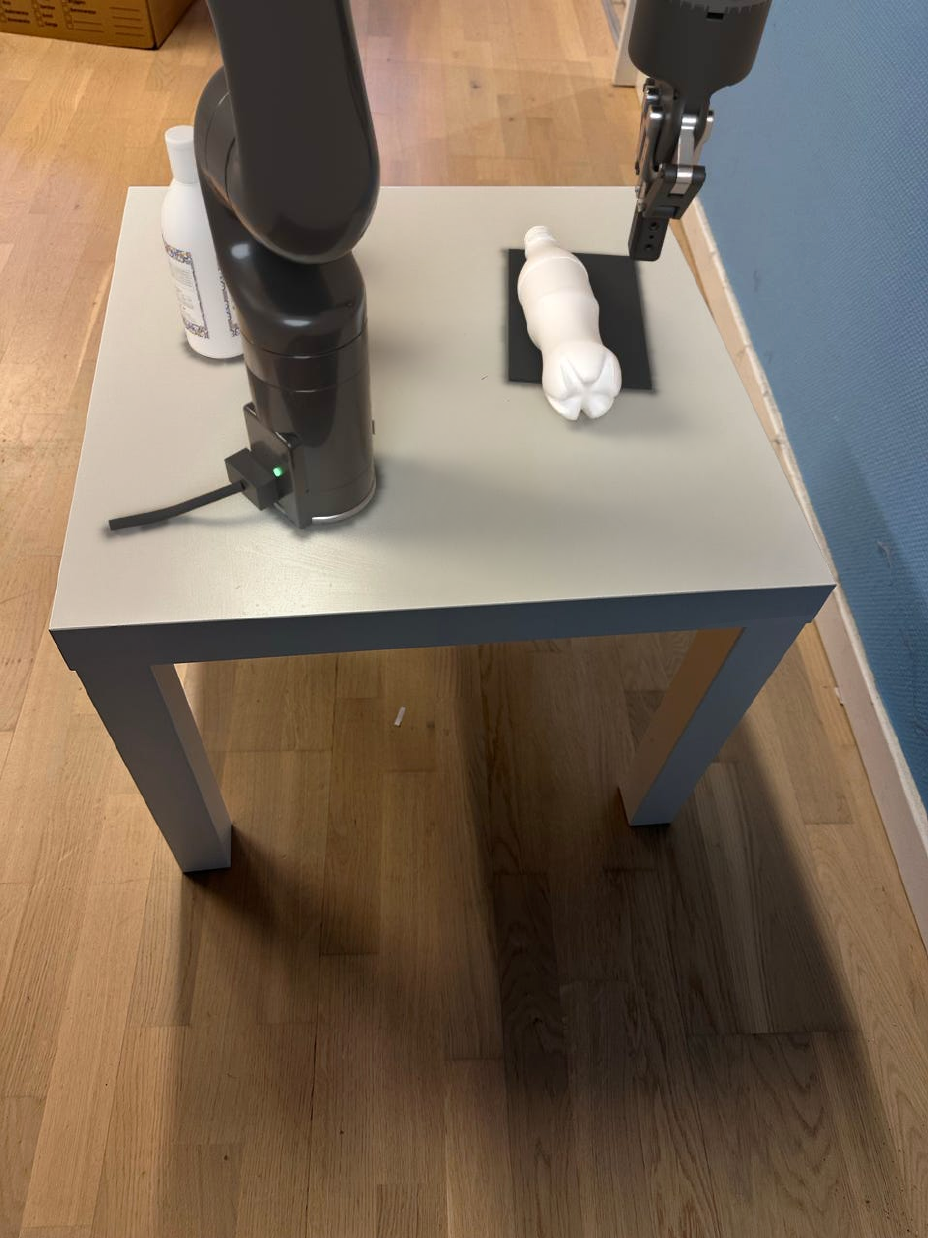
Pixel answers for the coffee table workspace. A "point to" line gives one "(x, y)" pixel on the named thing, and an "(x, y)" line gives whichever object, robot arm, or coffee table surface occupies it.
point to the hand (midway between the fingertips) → (642, 255)
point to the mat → (615, 322)
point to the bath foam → (195, 256)
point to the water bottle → (566, 329)
